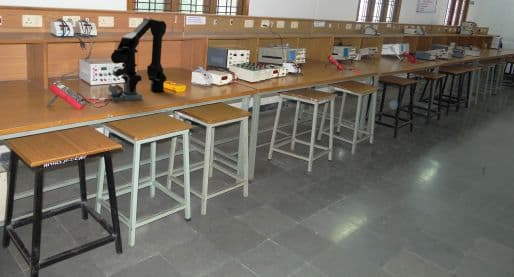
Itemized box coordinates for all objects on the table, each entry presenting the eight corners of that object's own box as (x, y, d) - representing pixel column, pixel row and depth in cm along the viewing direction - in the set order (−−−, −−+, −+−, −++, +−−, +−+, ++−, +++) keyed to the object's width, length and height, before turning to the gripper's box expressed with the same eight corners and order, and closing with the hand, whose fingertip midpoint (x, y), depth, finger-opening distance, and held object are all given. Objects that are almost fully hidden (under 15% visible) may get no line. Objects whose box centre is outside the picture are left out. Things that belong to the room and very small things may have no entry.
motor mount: (135, 95, 228) (135, 81, 226) (142, 99, 221) (142, 85, 218) (107, 97, 220) (106, 83, 217) (113, 101, 212) (112, 86, 210)
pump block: (133, 92, 225) (132, 79, 222) (136, 95, 221) (136, 80, 218) (123, 93, 222) (123, 79, 219) (126, 95, 218) (126, 81, 216)
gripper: (108, 59, 219) (109, 88, 223) (119, 65, 204) (120, 96, 209) (129, 58, 225) (130, 87, 230) (141, 64, 210) (142, 95, 215)
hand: (130, 91), depth 221 cm, fingers closed on pump block, 5 cm apart
